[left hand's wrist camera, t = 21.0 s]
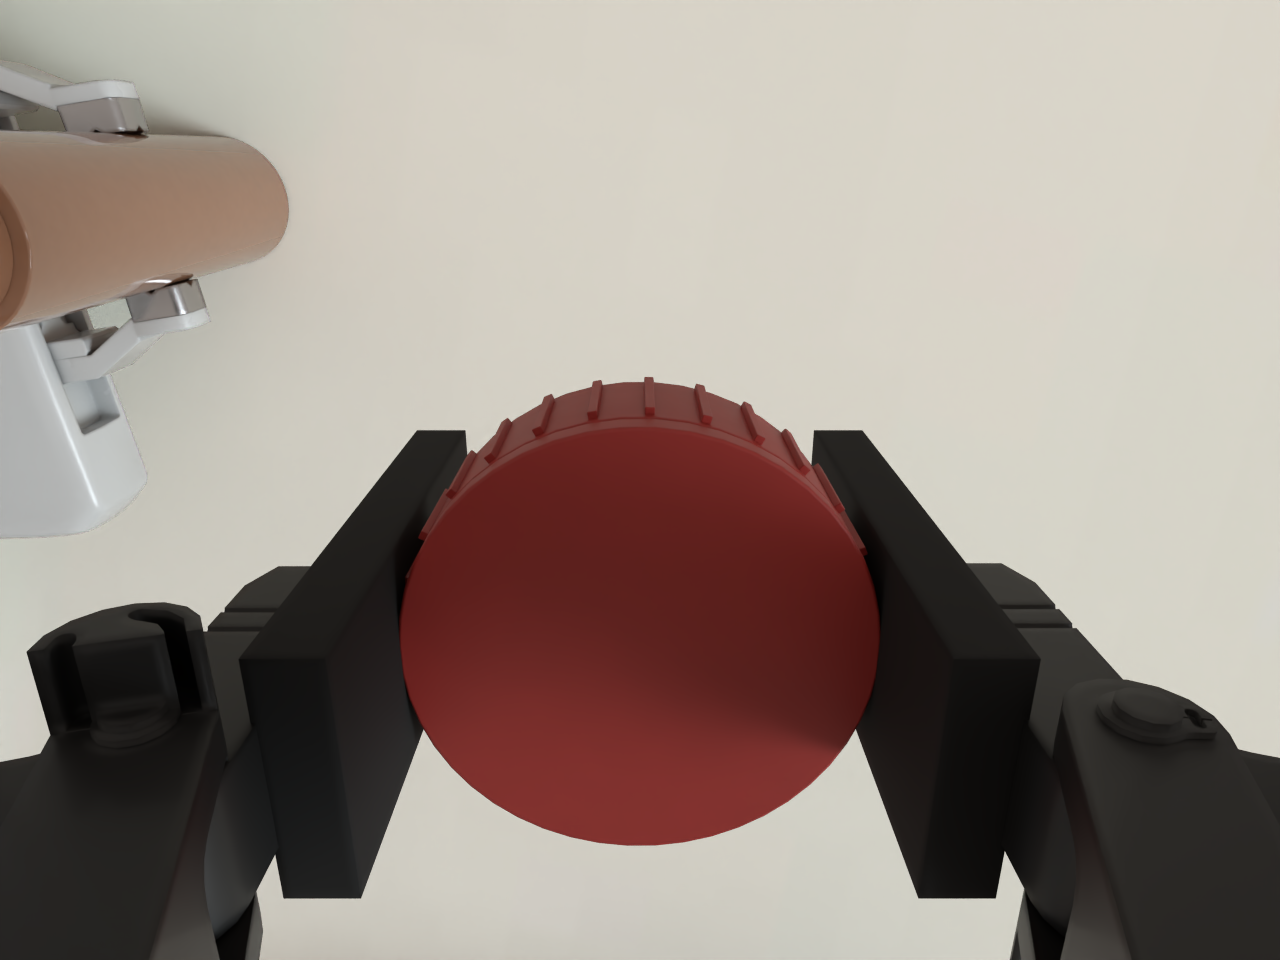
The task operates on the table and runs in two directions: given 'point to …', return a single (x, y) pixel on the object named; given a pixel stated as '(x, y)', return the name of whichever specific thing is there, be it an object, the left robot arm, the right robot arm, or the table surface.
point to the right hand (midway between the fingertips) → (166, 206)
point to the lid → (639, 617)
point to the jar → (125, 216)
